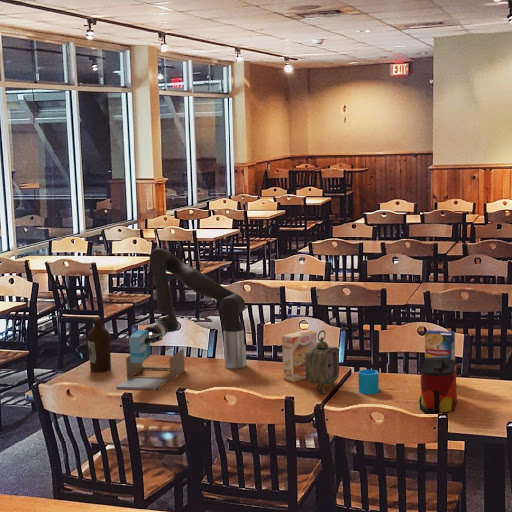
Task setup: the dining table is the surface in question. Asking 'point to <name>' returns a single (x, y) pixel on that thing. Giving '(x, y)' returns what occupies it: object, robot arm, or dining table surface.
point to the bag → (438, 386)
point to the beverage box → (439, 344)
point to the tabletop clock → (322, 364)
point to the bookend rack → (175, 367)
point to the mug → (368, 381)
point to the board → (141, 383)
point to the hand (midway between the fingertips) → (139, 341)
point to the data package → (139, 346)
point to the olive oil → (99, 347)
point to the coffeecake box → (296, 353)
